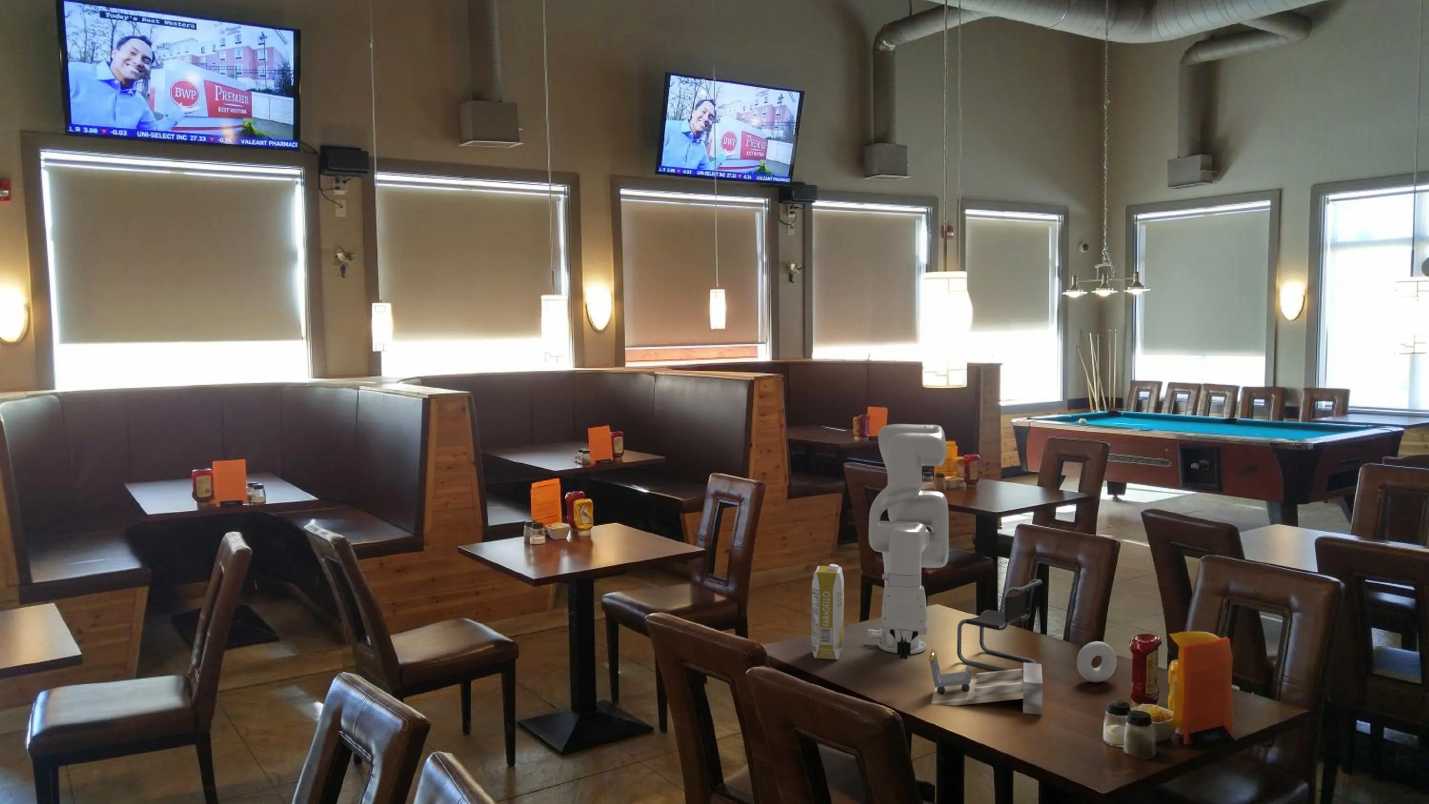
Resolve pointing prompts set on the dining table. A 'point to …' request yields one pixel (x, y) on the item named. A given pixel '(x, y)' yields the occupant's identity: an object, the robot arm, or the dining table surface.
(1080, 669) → the donut
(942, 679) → the trolley
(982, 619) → the chair
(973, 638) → the dining table surface
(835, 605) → the juice carton
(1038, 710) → the dock
